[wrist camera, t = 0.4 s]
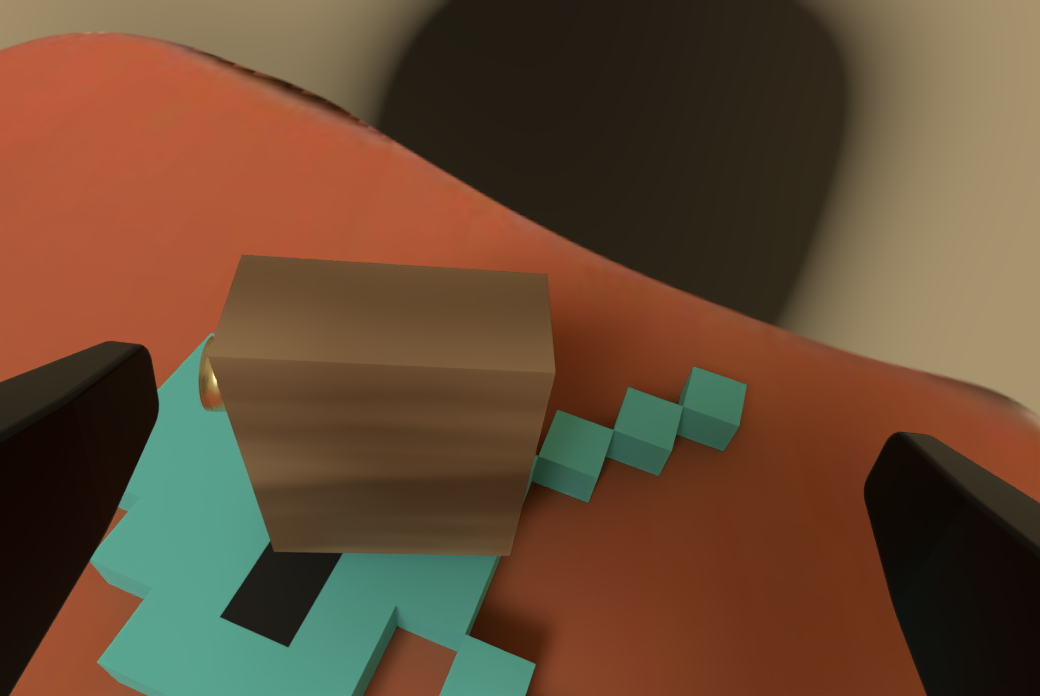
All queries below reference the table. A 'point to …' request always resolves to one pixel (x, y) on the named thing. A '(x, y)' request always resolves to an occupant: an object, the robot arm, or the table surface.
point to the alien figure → (328, 559)
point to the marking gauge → (383, 401)
